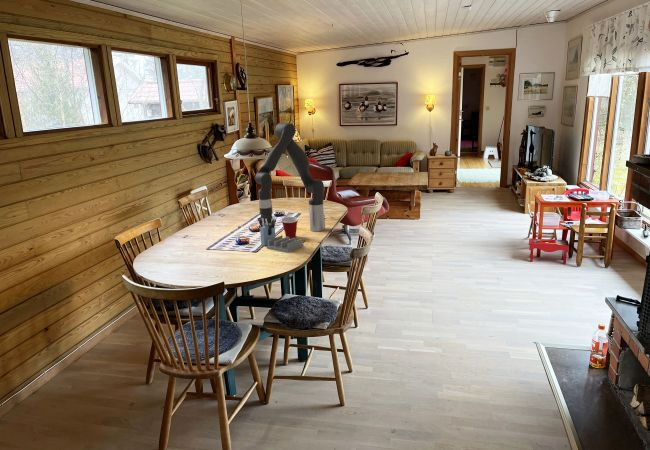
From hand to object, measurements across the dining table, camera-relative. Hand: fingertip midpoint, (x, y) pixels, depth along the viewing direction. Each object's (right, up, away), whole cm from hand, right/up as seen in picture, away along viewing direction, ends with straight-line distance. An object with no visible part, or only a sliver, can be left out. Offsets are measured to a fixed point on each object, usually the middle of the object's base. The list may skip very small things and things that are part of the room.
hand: (268, 234), depth 282 cm
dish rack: (+11, -7, -8) cm, 15 cm away
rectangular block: (0, -5, +1) cm, 6 cm away
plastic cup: (+13, -2, +11) cm, 17 cm away
